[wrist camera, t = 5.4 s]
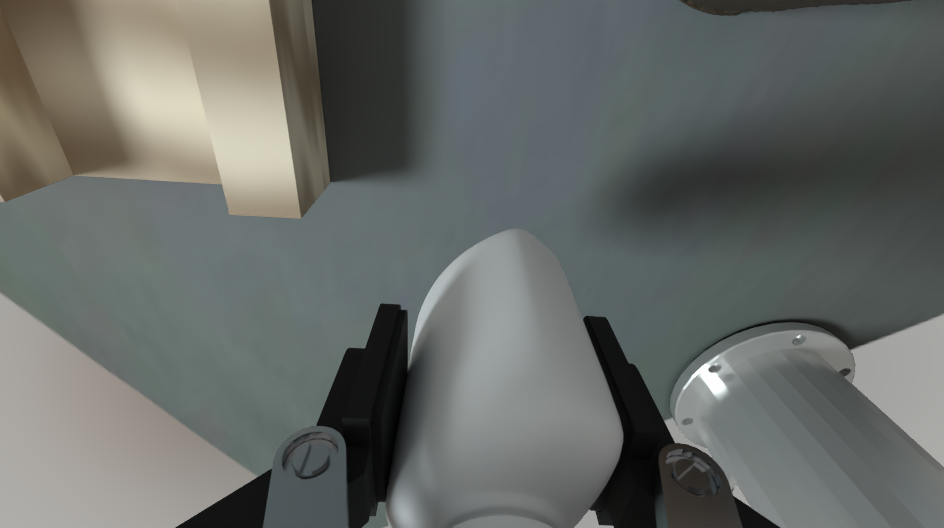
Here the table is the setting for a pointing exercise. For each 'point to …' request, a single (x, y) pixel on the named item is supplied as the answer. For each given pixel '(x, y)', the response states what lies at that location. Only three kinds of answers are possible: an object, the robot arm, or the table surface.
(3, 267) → the table surface
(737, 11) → the pillar candle
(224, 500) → the robot arm
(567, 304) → the eye dropper bottle
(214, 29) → the u rest
